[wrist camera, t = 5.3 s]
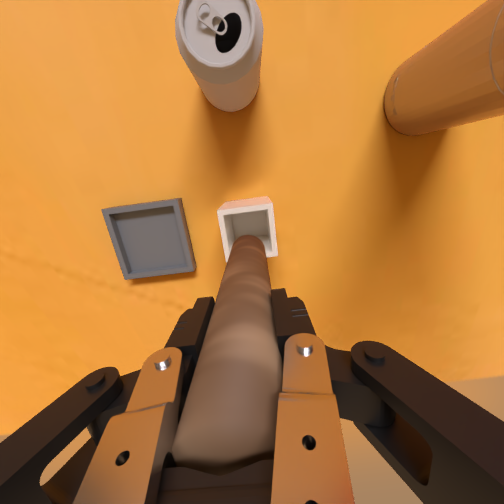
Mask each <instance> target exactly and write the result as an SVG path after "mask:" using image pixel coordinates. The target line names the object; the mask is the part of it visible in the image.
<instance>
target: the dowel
mask: <svg viewBox="0 0 504 504" xmlns="http://www.w3.org/2000/svg"><path fill="white" fill-rule="evenodd" d="M282 385H283V362H282V357H281V355H280V352H279V348H278V341H277V334H276V327H275V320H274V313H273V306H272V299H271V284H270V278H269V271H268V265H267V258H266V252H265V246H264V244H263V242H262V241H261V240H260V239H259V238H258V237H256V236H253V235H244V236H241V237H239V238H238V239H236V240H235V242H234V243H233V245H232V248H231V252H230V255H229V258H228V262H227V265H226V268H225V272H224V275H223V278H222V282H221V285H220V288H219V292H218V295H217V298H216V302H215V305H214V308H213V312H212V315H211V318H210V322H209V325H208V328H207V332H206V335H205V338H204V342H203V345H202V348H201V352H200V355H199V358H198V362H197V365H196V368H195V372H194V375H193V378H192V382H191V385H190V388H189V392H188V395H187V398H186V402H185V405H184V408H183V412H182V415H181V418H180V422H179V425H178V428H177V432H176V435H175V439H174V443H173V447H172V451H173V454H174V457H175V459H176V462H177V465H178V467H186V468H190V469H193V470H197V471H201V472H205V473H208V474H212V475H216V476H223V475H226V474H229V473H231V472H234V471H236V470H239V469H241V468H244V467H246V466H249V465H251V464H254V463H256V462H259V461H261V460H273V459H274V454H275V440H276V426H277V413H278V399H279V392H280V391H282Z"/></svg>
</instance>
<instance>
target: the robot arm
mask: <svg viewBox="0 0 504 504" xmlns="http://www.w3.org/2000/svg"><path fill="white" fill-rule="evenodd" d="M384 107H385V113H386V117H387V119H388V121H389V123H390V124H391V126H392V127H393V128H394V129H395V130H397V131H398V132H400V133H402V134H405V135H412V136H415V135H421V134H425V133H430V132H434V131H438V130H443V129H447V128H451V127H455V126H459V125H463V124H467V123H472V122H476V121H480V120H484V119H488V118H492V117H496V116H500V115H504V0H487V1H486V2H485V3H483V4H482V5H481V6H479V7H478V8H477V9H475V10H474V11H473V12H471V13H470V14H469V15H467V16H466V17H464V18H463V19H462V20H460V21H459V22H458V23H456V24H455V25H454V26H452V27H451V28H450V29H448V30H447V31H446V32H444V33H443V34H442V35H440V36H439V37H437V38H436V39H435V40H433V41H432V42H431V43H429V44H428V45H427V46H425V47H424V48H422V49H421V50H420V51H418V52H417V53H416V54H414V55H413V56H412V57H410V58H409V59H408V60H406V61H405V62H404V63H403V64H402V65H401V66H400V67H399V68H398V69H397V70H396V71H395V73H394V74H393V76H392V77H391V79H390V81H389V83H388V86H387V89H386V92H385V99H384ZM271 299H272V306H273V313H274V320H275V327H276V334H277V341H278V348H279V352H280V355H281V357H282V362H283V385H282V391H280V392H279V399H278V413H277V426H276V440H275V454H274V459H273V460H261V461H259V462H256V463H254V464H251V465H249V466H246V467H244V468H241V469H239V470H236V471H234V472H231V473H229V474H226V475H223V476H216V475H212V474H208V473H205V472H201V471H197V470H193V469H190V468H186V467H178V465H177V462H176V459H175V457H174V454H173V451H172V447H173V443H174V439H175V435H176V432H177V428H178V425H179V422H180V418H181V415H182V412H183V408H184V405H185V402H186V398H187V395H188V392H189V388H190V385H191V382H192V378H193V375H194V372H195V368H196V365H197V362H198V358H199V355H200V352H201V348H202V345H203V342H204V338H205V335H206V332H207V328H208V325H209V322H210V318H211V315H212V312H213V308H214V305H215V301H214V298H213V297H204V298H198V299H197V301H196V303H195V305H194V307H193V309H188V310H186V311H185V312H184V313H183V314H182V315H181V316H180V318H179V320H178V322H177V324H176V326H175V328H174V330H173V332H172V334H171V335H170V337H169V339H168V341H167V343H166V345H165V347H164V349H161V350H158V351H156V352H155V353H153V354H152V355H150V356H149V357H148V358H147V359H146V361H145V362H144V364H143V366H142V369H140V370H138V371H135V372H132V373H129V374H126V375H123V376H120V374H119V372H118V370H117V369H116V368H115V367H105V368H101V369H98V370H96V371H94V372H92V373H90V374H89V375H87V376H86V377H84V378H83V379H82V380H81V381H79V382H78V383H77V384H75V385H74V386H73V387H72V388H70V389H69V390H68V391H66V392H65V393H64V394H63V395H61V396H60V397H59V398H57V399H56V400H55V401H54V402H52V403H51V404H50V405H48V406H47V407H46V408H45V409H43V410H42V411H41V412H40V413H38V414H37V415H36V416H34V417H33V418H32V419H31V420H29V421H28V422H27V423H25V424H24V425H23V426H22V427H20V428H19V429H18V430H16V431H15V432H14V433H13V434H11V435H10V436H9V437H7V438H6V439H5V440H4V441H2V442H1V443H0V504H355V502H354V497H353V491H352V486H351V479H350V474H349V468H348V463H347V457H346V451H345V446H344V440H343V434H342V429H341V423H340V418H343V419H347V420H351V421H353V422H354V424H355V426H356V427H357V428H358V429H359V430H360V432H361V433H362V434H363V435H364V436H365V437H366V438H367V440H368V441H369V442H370V443H371V444H372V445H373V446H374V448H375V449H376V450H377V451H378V452H379V453H380V454H381V456H382V457H383V458H384V459H385V460H386V461H387V462H388V463H389V465H390V466H391V467H392V468H393V469H394V470H395V471H396V473H397V474H398V475H399V476H400V477H401V478H402V479H403V481H404V482H405V483H406V484H407V485H408V486H409V487H410V488H411V490H412V491H413V492H414V493H415V494H416V495H417V496H418V498H419V499H420V500H421V501H422V502H423V503H424V504H504V422H503V421H502V420H500V419H498V418H497V417H496V416H494V415H493V414H491V413H489V412H488V411H486V410H485V409H483V408H482V407H480V406H479V405H477V404H476V403H474V402H473V401H471V400H470V399H468V398H467V397H465V396H463V395H462V394H460V393H459V392H457V391H456V390H454V389H453V388H451V387H450V386H448V385H447V384H445V383H444V382H442V381H440V380H439V379H437V378H436V377H434V376H433V375H431V374H430V373H428V372H427V371H425V370H424V369H422V368H421V367H419V366H417V365H416V364H414V363H413V362H411V361H410V360H408V359H407V358H405V357H404V356H402V355H401V354H399V353H398V352H396V351H394V350H393V349H391V348H390V347H388V346H386V345H384V344H382V343H379V342H375V341H362V342H358V343H356V344H355V345H354V346H353V347H352V349H351V352H350V351H343V350H337V349H333V348H330V347H328V346H326V345H324V343H323V341H322V340H321V339H320V338H319V337H317V336H316V333H315V331H314V328H313V325H312V323H311V320H310V318H309V315H308V313H307V310H306V307H305V305H304V302H303V301H302V300H300V299H299V298H298V297H290V298H287V294H286V291H285V288H282V289H273V290H271ZM86 427H87V429H88V431H89V433H90V434H91V438H90V439H89V440H88V441H87V442H86V443H85V444H84V445H83V447H81V448H80V449H79V450H78V451H77V452H76V454H74V455H73V457H71V459H70V460H69V461H68V462H67V463H66V464H65V465H64V466H63V467H62V468H61V469H60V470H59V471H58V472H57V473H56V474H55V475H54V476H53V477H52V478H51V479H50V480H49V481H48V482H47V483H45V484H44V485H42V486H40V483H39V482H40V477H41V474H42V472H43V470H44V469H45V467H46V466H47V465H48V464H49V463H50V462H51V461H52V459H54V458H55V457H56V456H57V455H58V454H59V453H60V452H61V451H62V450H63V449H64V448H65V447H66V446H67V445H68V444H69V443H70V442H71V441H72V440H73V439H74V438H75V437H76V436H77V435H79V434H80V433H81V432H82V431H83V430H84V429H85V428H86Z"/></svg>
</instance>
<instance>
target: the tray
mask: <svg viewBox="0 0 504 504" xmlns="http://www.w3.org/2000/svg"><path fill="white" fill-rule="evenodd" d="M101 210H102V213H103V216H104V219H105V222H106V225H107V228H108V231H109V234H110V237H111V240H112V243H113V246H114V249H115V252H116V255H117V258H118V261H119V264H120V267H121V270H122V273H123V276H124V279H125V280H127V279H135V278H143V277H151V276H159V275H167V274H176V273H184V272H192V271H194V270H195V269H196V262H195V258H194V253H193V249H192V244H191V240H190V235H189V231H188V227H187V222H186V218H185V213H184V209H183V204H182V200H181V198H177V199H169V200H162V201H155V202H148V203H140V204H133V205H126V206H119V207H111V208H106V209H101Z"/></svg>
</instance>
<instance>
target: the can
mask: <svg viewBox="0 0 504 504" xmlns="http://www.w3.org/2000/svg"><path fill="white" fill-rule="evenodd" d="M175 28H176V40H177V44H178V47H179V51H180V54H181V56H182V57H183V59H184V61H185V62H186V64H187V66H188V68H189V69H190V71H191V73H192V74H193V76H194V78H195V80H196V81H197V83H198V85H199V86H200V88H201V90H202V91H203V93H204V95H205V97H206V98H207V100H208V101H209V102H210V103H211V104H212V105H213V106H214V107H216V108H218V109H220V110H222V111H229V112H234V111H238V110H241V109H243V108H244V107H246V106H247V105H249V104H250V102H251V101H252V100H253V98H254V97H255V95H256V92H257V90H258V87H259V79H260V66H261V53H262V41H263V23H262V18H261V12H260V9H259V7H258V5H257V3H256V1H255V0H180V2H179V6H178V11H177V15H176V19H175Z"/></svg>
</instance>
